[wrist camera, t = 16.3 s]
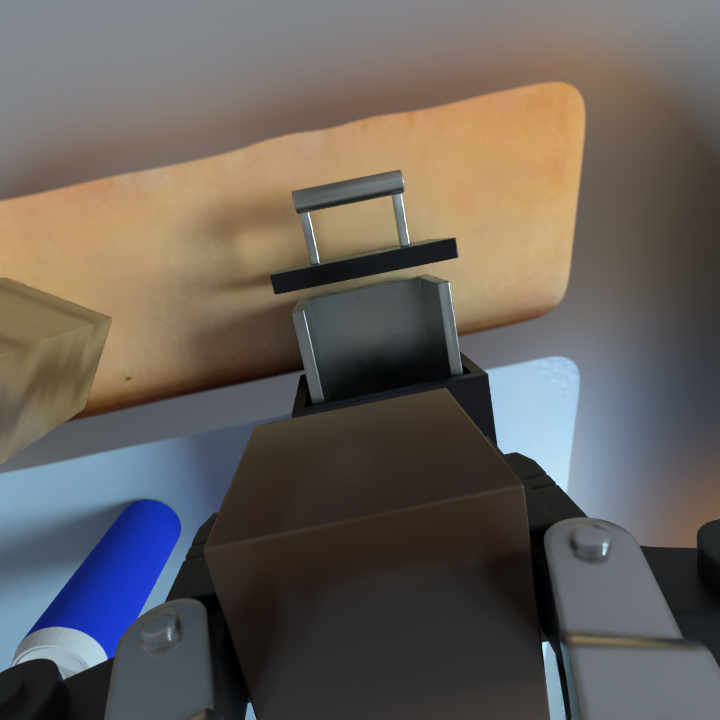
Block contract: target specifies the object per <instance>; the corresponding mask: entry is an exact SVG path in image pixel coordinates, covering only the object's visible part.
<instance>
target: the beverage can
mask: <svg viewBox="0 0 720 720" xmlns="http://www.w3.org/2000/svg"><path fill="white" fill-rule="evenodd" d="M180 532H181V525H180V521H179V518H178V516H177V515H176V513H175V512H174V511H173V510H172V509H171V508H170V507H169V506H168V505H166V504H164V503H162V502H160V501H155V500H141V501H137V502H134V503H132V504H131V505H129V506H128V507H126V508H125V510H124V511H123V512H122V513H121V514H120V516H119V517H118V518H117V520H116V521H115V522H114V523H113V525H112V526H111V527H110V529H109V530H108V531H107V532H106V534H105V535H104V536H103V538H102V539H101V540H100V541H99V543H98V544H97V545H96V546H95V548H94V549H93V550H92V552H91V553H90V554H89V555H88V557H87V558H86V559H85V561H84V562H83V563H82V564H81V566H80V567H79V568H78V570H77V571H76V572H75V573H74V575H73V576H72V577H71V579H70V580H69V581H68V582H67V584H66V585H65V586H64V588H63V589H62V590H61V591H60V593H59V594H58V595H57V596H56V598H55V599H54V600H53V602H52V603H51V604H50V605H49V607H48V608H47V609H46V611H45V612H44V613H43V614H42V616H41V617H40V618H39V620H38V621H37V622H36V623H35V625H34V626H33V627H32V629H31V630H30V631H29V632H28V634H27V635H26V636H25V638H24V639H23V640H22V641H21V643H20V644H19V646H18V647H17V650H16V652H15V655H14V658H13V661H12V664H11V666H10V668H11V667H13V666H15V665H17V664H20V663H22V662H25V661H29V660H33V659H39V658H45V659H50V660H52V661H54V662H55V663H56V664H57V666H58V668H59V671H60V673H61V675H62V677H63V680H64V679H66V678H68V677H71V676H73V675H75V674H77V673H79V672H82V671H84V670H86V669H88V668H91V667H93V666H95V665H97V664H99V663H102V662H104V661H106V660H108V659H110V658H112V657H114V656H115V650H116V647H117V644H118V642H119V640H120V638H121V637H122V635H123V634H124V632H125V631H126V630H127V629H128V628H129V626H130V625H132V624H133V623H134V622H135V621H136V620H137V618H138V616H139V614H140V612H141V610H142V608H143V606H144V604H145V602H146V600H147V598H148V596H149V594H150V593H151V591H152V589H153V587H154V585H155V583H156V581H157V579H158V577H159V575H160V573H161V571H162V569H163V567H164V566H165V564H166V562H167V560H168V558H169V556H170V554H171V552H172V550H173V548H174V546H175V544H176V542H177V540H178V538H179V536H180Z"/></svg>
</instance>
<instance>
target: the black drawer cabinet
mask: <svg viewBox="0 0 720 720" xmlns="http://www.w3.org/2000/svg"><path fill="white" fill-rule="evenodd" d="M460 358H461V365H462V372H463V375H461V376H456V377H451V378H447V379H442V380H437V381H432V382H427V383H422V384H417V385H413V386H408V387H403V388H398V389H393V390H388V391H383V392H379V393H374V394H369V395H364V396H359V397H354V398H349V399H345V400H340V401H335V402H330V403H325V404H320V405H315V406H313V404H312V400H311V395H310V391H309V387H308V383H307V378H306V374H304V375H301V376H300V380H299V385H298V389H297V394H296V398H295V402H294V407H293V411H292V418H297V417H302V416H307V415H312V414H317V413H322V412H327V411H332V410H337V409H342V408H347V407H352V406H357V405H362V404H367V403H372V402H377V401H382V400H387V399H392V398H397V397H402V396H407V395H412V394H417V393H422V392H427V391H432V390H437V389H442V388H446V389H447V390H448V391H449V392H450V394H451V395H452V396H453V397H454V399H455V400H456V401H457V402H458V404H459V405H460V406H461V407H462V409H463V410H464V411H465V412H466V414H467V415H468V416H469V417H470V419H471V420H472V421H473V422H474V424H475V425H476V426H477V427H478V429H479V430H480V431H481V432H482V433H483V435H484V436H485V437H490V438H491V440H492V441H493V442H494V443H495V445H496V446H497V440H496V432H495V425H494V417H493V409H492V402H491V394H490V386H489V379H488V374H487V373H486V372H485V371H483V370H482V369H481V368H479V367H478V366H477V365H476V364H475V363H473V362H472V361H471V360H470V359H468V358H467V357H466V356H465V355H463V354H462V353H461V352H460Z"/></svg>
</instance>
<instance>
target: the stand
mask: <svg viewBox="0 0 720 720" xmlns="http://www.w3.org/2000/svg"><path fill="white" fill-rule="evenodd" d="M111 321H112V318H111V317H108V316H106V315H103V314H100V313H98V312H95V311H93V310H90V309H87V308H85V307H82V306H79V305H77V304H74V303H71V302H69V301H66V300H64V299H61V298H58V297H56V296H53V295H50V294H48V293H45V292H42V291H40V290H37V289H35V288H32V287H29V286H27V285H24V284H21V283H19V282H16V281H13V280H11V279H8V278H0V465H1V464H2V463H4V462H5V461H7V460H8V459H10V458H11V457H13V456H14V455H16V454H17V453H19V452H20V451H22V450H23V449H25V448H26V447H28V446H29V445H31V444H32V443H34V442H35V441H37V440H38V439H40V438H41V437H43V436H44V435H46V434H47V433H49V432H50V431H52V430H53V429H55V428H56V427H58V426H59V425H61V424H62V423H64V422H65V421H67V420H68V419H70V418H71V417H73V416H74V415H76V414H77V413H79V412H80V411H82V410H83V409H84V408H85V405H86V402H87V399H88V395H89V392H90V389H91V386H92V383H93V379H94V376H95V373H96V370H97V366H98V363H99V360H100V357H101V354H102V350H103V347H104V344H105V341H106V337H107V334H108V331H109V328H110V325H111Z"/></svg>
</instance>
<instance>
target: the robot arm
mask: <svg viewBox="0 0 720 720" xmlns="http://www.w3.org/2000/svg"><path fill="white" fill-rule="evenodd" d="M486 438H487V440H488V441H489V442H490V443H491V445H492V446H493V447H494V448H495V450H496V451H497V452H498V453H499V455H500V456H501V457H502V458H503V460H504V461H505V462H506V463H507V465H508V466H509V467H510V468H511V470H512V471H513V472H514V473H515V474H516V476H517V477H518V478H519V479H520V481H521V482H522V483H523V485H524V489H525V498H526V507H527V516H528V525H529V534H530V543H531V551H532V560H533V569H534V578H535V587H536V596H537V605H538V614H539V623H540V632H541V641H542V642H546V641H549V643H550V645H551V647H552V649H553V650H554V652H555V654H556V665H557V674H558V681H559V687H560V692H561V698H562V705H563V711H564V716H565V720H720V519H719V520H714V521H711V522H708V523H706V524H705V525H703V526H702V527H701V528H700V529H699V530H698V533H697V548H666V547H647V546H641V545H639V544H638V542H637V541H636V539H635V538H634V537H633V536H632V535H631V534H630V533H629V532H628V531H626V530H625V529H623V528H622V527H620V526H618V525H616V524H614V523H611V522H608V521H605V520H600V519H595V518H588V517H587V516H586V514H585V513H584V512H583V511H582V510H581V509H580V508H579V507H578V506H577V505H576V504H575V503H574V502H573V501H572V500H571V499H570V498H569V496H568V495H567V494H566V493H565V492H564V491H563V490H562V489H561V488H560V487H559V486H558V485H557V486H556V483H555V482H554V481H553V480H552V478H551V477H550V476H549V475H546V472H545V471H544V470H543V469H542V468H541V467H540V466H539V465H538V464H537V463H536V462H535V461H534V460H532V459H530V458H528V457H526V456H523V455H521V454H519V453H517V452H515V453H510V454H505V455H504V454H503V453H502V452H501V451H500V449H499V448H498V447H497V446H496V445H495V443H494V442H493V441H492V440H491V438H490V437H486ZM218 513H219V512H217V513H214V514H213V515H212V516H211V517H210V518H209V519H208V520H207V521H206V522H205V523H204V524H203V525H202V526H201V527H200V528H199V529H198V531H197V534H196V536H195V538H194V540H193V542H192V547H190V549H189V551H188V553H187V555H186V557H185V558H186V561H184V562H183V564H182V566H181V568H180V570H179V573H178V575H177V577H176V579H175V581H174V583H173V586H172V588H171V590H170V592H169V594H168V596H167V599H166V601H165V603H163V604H161V605H159V606H157V607H155V608H153V609H151V610H149V611H148V612H146V613H145V614H143V615H142V616H141V617H139V618H138V619H137V620H136V621H135V622H134V623H133V624H132V625H130V626H129V628H128V629H127V630H126V631H125V632H124V634H123V635H122V637H121V638H120V640H119V642H118V644H117V647H116V650H115V656H114V657H112V658H110V659H108V660H106V661H104V662H102V663H99V664H97V665H95V666H93V667H91V668H88V669H86V670H84V671H82V672H79V673H77V674H75V675H73V676H71V677H68V678H66V679H64V680H63V677H62V675H61V673H60V671H59V668H58V666H57V664H56V663H55V662H54V661H52V660H50V659H45V658H39V659H33V660H29V661H25V662H22V663H20V664H17V665H15V666H13V667H11V668H9V669H7V670H5V671H3V672H1V673H0V720H245V715H246V710H247V704H248V703H250V702H251V700H250V697H249V694H248V691H247V688H246V685H245V682H244V678H243V675H242V672H241V669H240V666H239V663H238V660H237V656H236V653H235V650H234V647H233V644H232V641H231V638H230V634H229V631H228V628H227V625H226V622H225V619H224V616H223V612H222V609H221V606H220V603H219V600H218V597H217V594H216V590H215V587H214V584H213V581H212V578H211V575H210V571H209V568H208V565H207V562H206V559H205V556H204V553H203V549H204V546H205V544H206V542H207V539H208V537H209V534H210V532H211V530H212V527H213V525H214V523H215V520H216V518H217V515H218Z"/></svg>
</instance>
